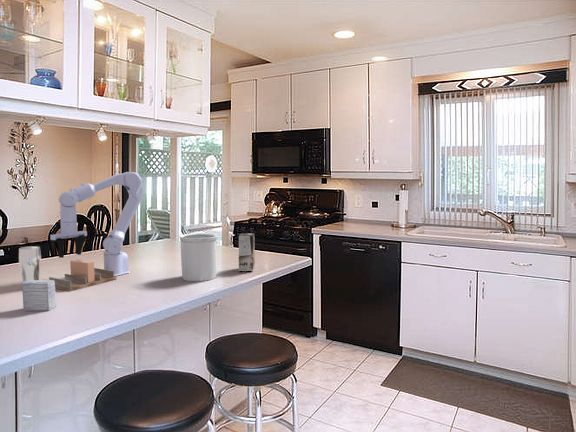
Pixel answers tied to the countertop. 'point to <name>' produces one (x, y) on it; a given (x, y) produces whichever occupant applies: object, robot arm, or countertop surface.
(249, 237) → the coffee box
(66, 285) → the dish rack
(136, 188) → the robot arm
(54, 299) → the medicine box
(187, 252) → the utensil holder
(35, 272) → the beer glass
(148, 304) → the countertop surface
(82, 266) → the salmon pink box
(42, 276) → the countertop surface
